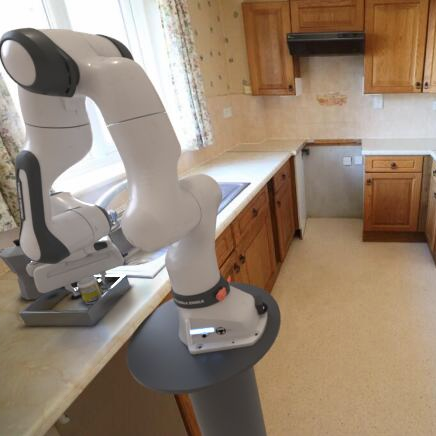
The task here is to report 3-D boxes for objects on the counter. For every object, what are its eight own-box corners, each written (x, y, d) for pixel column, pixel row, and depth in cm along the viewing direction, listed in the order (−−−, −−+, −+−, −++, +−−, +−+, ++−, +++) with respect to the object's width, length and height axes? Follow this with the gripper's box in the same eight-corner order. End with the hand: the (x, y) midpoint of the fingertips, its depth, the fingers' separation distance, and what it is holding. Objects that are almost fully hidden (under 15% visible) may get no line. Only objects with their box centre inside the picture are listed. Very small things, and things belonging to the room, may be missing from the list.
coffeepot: (7, 301, 95) (-23, 248, 88) (33, 282, 104) (8, 233, 96) (58, 299, 95) (32, 246, 87) (80, 280, 104) (58, 231, 96)
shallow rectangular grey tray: (130, 286, 100) (126, 274, 98) (93, 325, 84) (87, 312, 83) (72, 287, 100) (67, 275, 98) (25, 326, 85) (18, 312, 83)
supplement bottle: (92, 294, 97) (82, 270, 93) (107, 293, 97) (98, 270, 93) (80, 304, 93) (69, 280, 89) (96, 304, 92) (86, 280, 89)
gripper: (23, 268, 79) (46, 312, 85) (117, 239, 91) (131, 279, 97) (22, 258, 83) (44, 301, 89) (112, 232, 96) (126, 270, 101)
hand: (90, 289), depth 93 cm, fingers closed on supplement bottle, 5 cm apart
